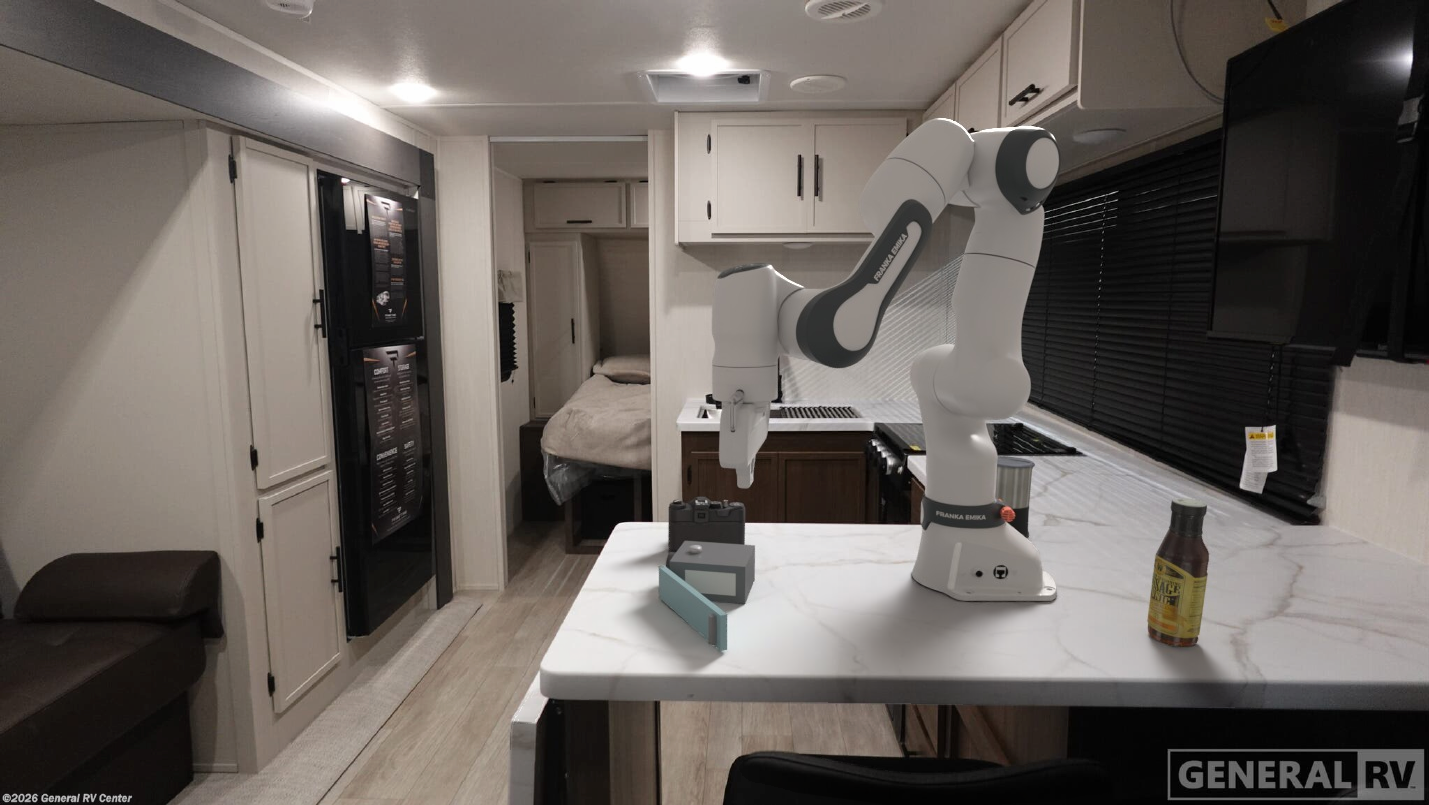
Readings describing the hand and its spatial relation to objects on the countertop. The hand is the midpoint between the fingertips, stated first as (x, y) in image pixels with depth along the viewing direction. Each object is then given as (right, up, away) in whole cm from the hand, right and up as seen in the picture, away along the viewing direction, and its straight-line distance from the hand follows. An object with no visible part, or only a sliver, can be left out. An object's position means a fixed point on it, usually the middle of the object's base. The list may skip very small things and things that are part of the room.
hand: (745, 485), depth 103 cm
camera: (-6, -16, +39) cm, 43 cm away
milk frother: (+51, -15, +44) cm, 69 cm away
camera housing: (-4, -19, +19) cm, 27 cm away
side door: (-8, -20, +6) cm, 23 cm away
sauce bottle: (+59, -22, +1) cm, 63 cm away
